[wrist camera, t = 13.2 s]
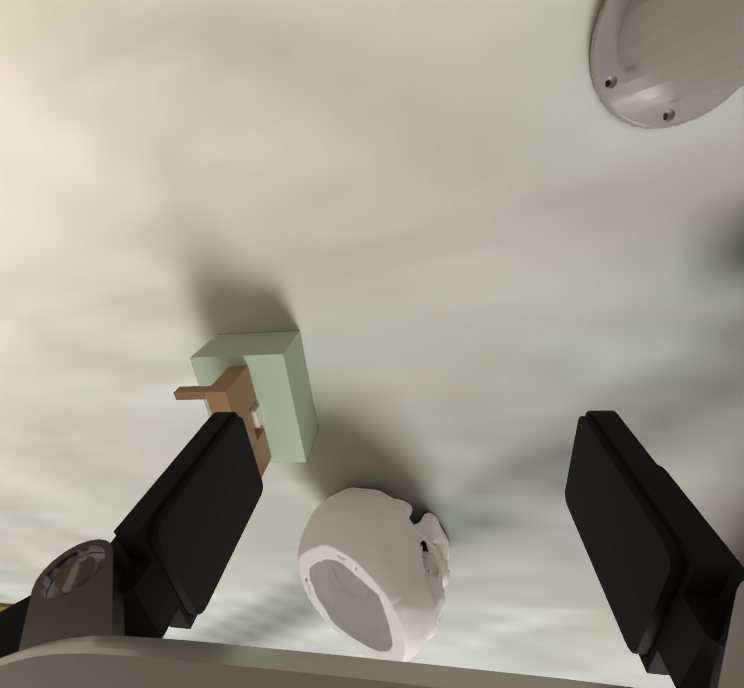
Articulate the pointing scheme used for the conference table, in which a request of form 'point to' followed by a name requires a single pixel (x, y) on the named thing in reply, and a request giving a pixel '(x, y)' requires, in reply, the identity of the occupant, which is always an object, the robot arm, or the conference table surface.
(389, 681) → the robot arm
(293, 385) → the pale green box
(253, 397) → the wooden staple shape
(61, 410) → the conference table surface
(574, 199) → the conference table surface
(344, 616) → the skull planter
